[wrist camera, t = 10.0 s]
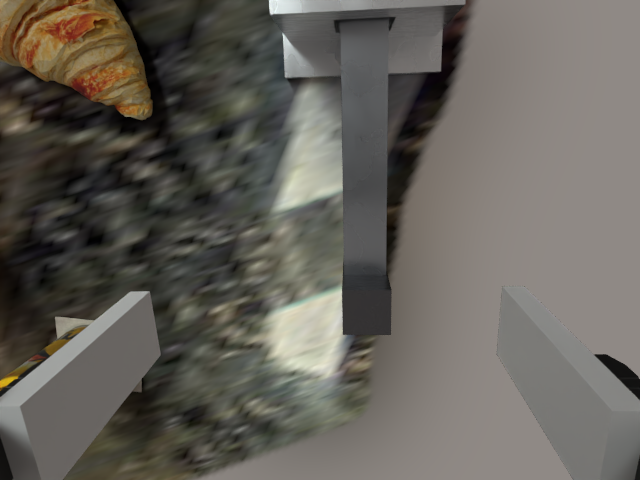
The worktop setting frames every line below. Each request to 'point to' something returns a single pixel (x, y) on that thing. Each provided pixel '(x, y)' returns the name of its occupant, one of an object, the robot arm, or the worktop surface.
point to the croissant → (77, 49)
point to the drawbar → (365, 175)
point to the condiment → (55, 347)
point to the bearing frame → (355, 3)
